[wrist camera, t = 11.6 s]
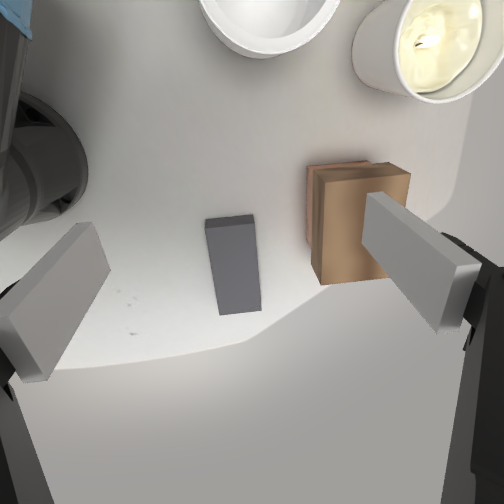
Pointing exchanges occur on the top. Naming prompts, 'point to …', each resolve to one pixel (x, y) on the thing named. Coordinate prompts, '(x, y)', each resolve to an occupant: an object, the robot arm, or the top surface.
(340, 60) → the top surface
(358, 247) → the brown wooden block
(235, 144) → the top surface
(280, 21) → the jar
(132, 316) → the top surface
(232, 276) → the block
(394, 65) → the candle holder
